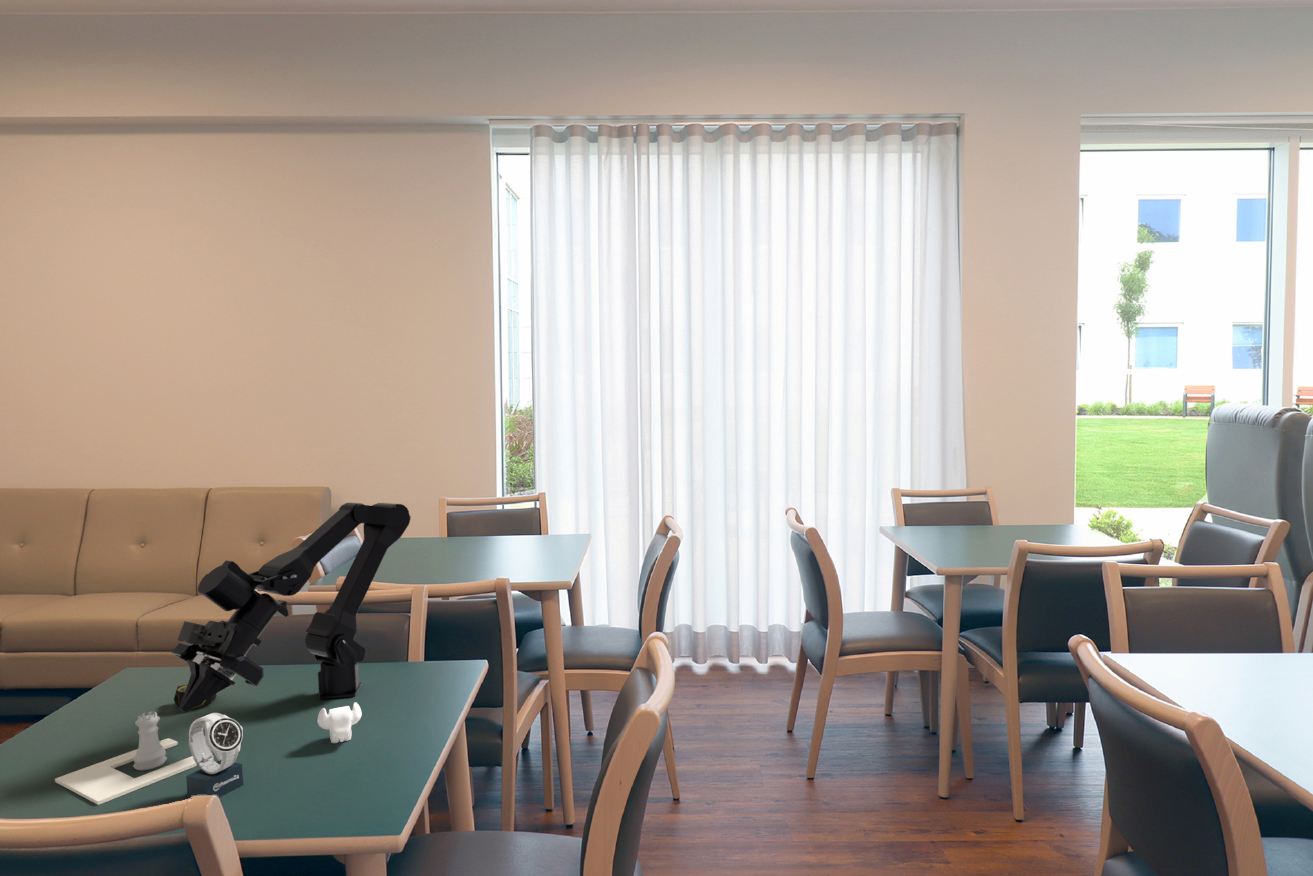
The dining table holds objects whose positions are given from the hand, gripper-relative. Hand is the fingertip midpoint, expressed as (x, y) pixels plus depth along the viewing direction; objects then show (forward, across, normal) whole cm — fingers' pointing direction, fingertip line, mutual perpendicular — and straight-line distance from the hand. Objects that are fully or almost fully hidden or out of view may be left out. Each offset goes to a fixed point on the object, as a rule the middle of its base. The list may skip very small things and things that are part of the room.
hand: (182, 710), depth 126 cm
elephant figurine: (-6, +19, +16) cm, 25 cm away
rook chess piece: (+9, 0, +1) cm, 9 cm away
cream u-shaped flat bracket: (+10, 0, 0) cm, 10 cm away
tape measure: (-4, -21, +14) cm, 25 cm away
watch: (+8, +18, +2) cm, 20 cm away
